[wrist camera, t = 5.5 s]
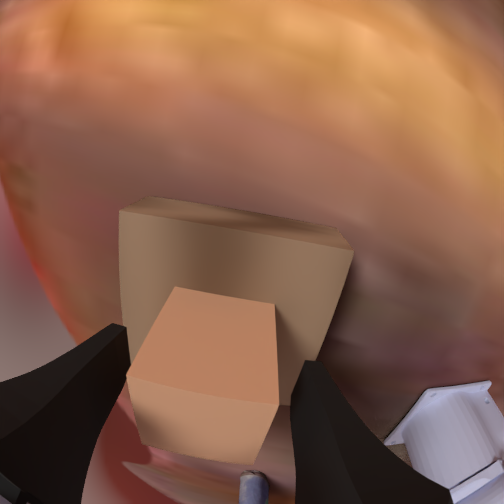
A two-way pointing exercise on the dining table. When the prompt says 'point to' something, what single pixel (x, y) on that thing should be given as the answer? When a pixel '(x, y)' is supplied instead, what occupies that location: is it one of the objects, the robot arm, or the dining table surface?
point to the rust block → (207, 377)
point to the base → (233, 270)
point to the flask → (253, 488)
